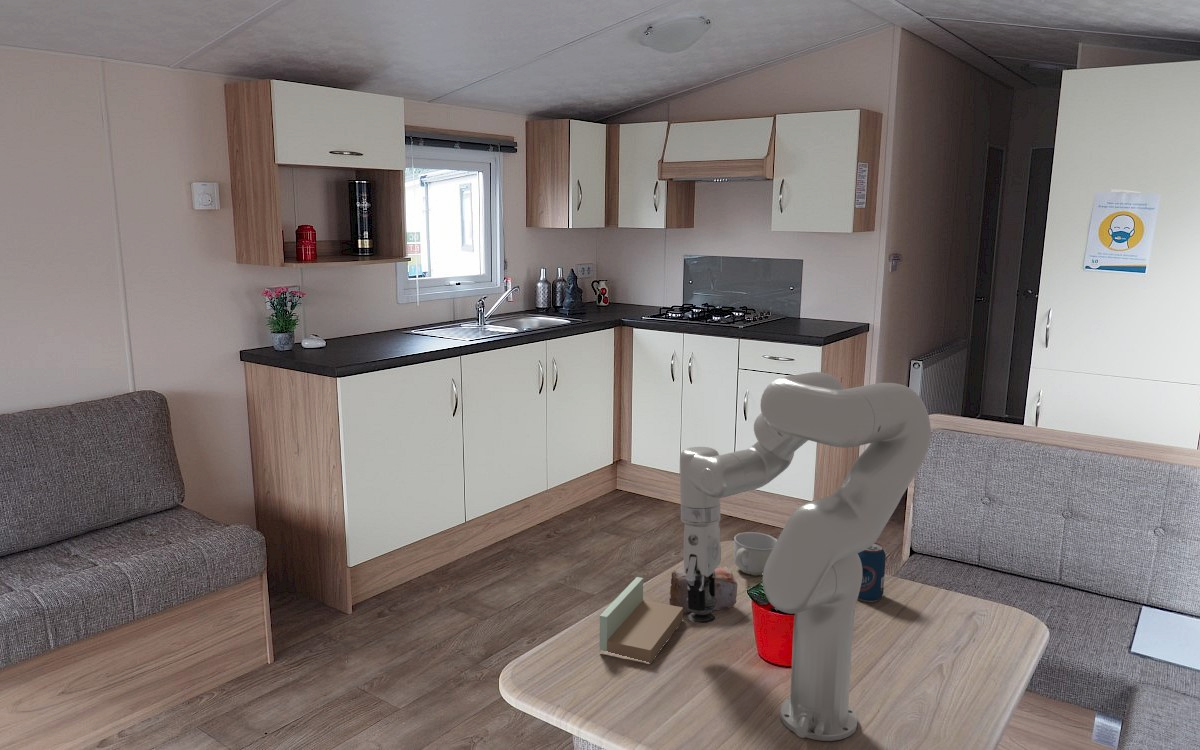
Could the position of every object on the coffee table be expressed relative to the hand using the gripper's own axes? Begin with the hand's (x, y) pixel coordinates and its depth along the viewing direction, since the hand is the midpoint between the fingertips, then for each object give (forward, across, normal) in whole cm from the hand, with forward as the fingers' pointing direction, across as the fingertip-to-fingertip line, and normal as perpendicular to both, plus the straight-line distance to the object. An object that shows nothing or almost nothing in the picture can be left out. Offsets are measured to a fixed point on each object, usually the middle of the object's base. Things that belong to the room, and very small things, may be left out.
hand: (701, 602), depth 166 cm
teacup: (+10, +43, +1) cm, 44 cm away
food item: (+10, +20, +6) cm, 23 cm away
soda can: (+11, +40, -26) cm, 49 cm away
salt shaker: (+3, 0, 0) cm, 3 cm away
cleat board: (+10, +2, +13) cm, 16 cm away
